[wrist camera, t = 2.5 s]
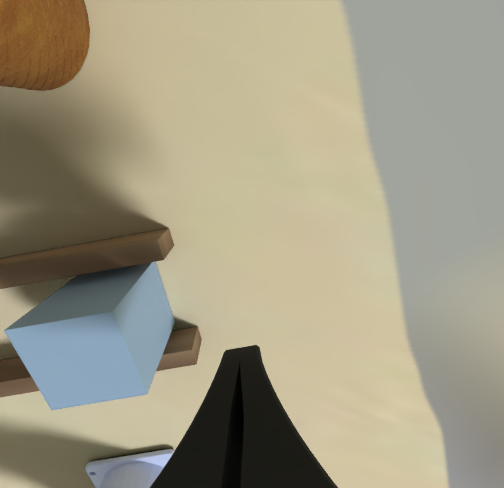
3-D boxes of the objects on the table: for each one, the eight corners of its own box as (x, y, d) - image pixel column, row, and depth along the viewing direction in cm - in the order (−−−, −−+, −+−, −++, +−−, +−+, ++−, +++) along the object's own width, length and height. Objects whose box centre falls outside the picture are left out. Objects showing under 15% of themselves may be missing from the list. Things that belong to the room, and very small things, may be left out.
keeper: (175, 321, 19) (146, 394, 13) (107, 333, 19) (51, 410, 13) (154, 259, 17) (112, 311, 12) (81, 272, 17) (3, 330, 12)
